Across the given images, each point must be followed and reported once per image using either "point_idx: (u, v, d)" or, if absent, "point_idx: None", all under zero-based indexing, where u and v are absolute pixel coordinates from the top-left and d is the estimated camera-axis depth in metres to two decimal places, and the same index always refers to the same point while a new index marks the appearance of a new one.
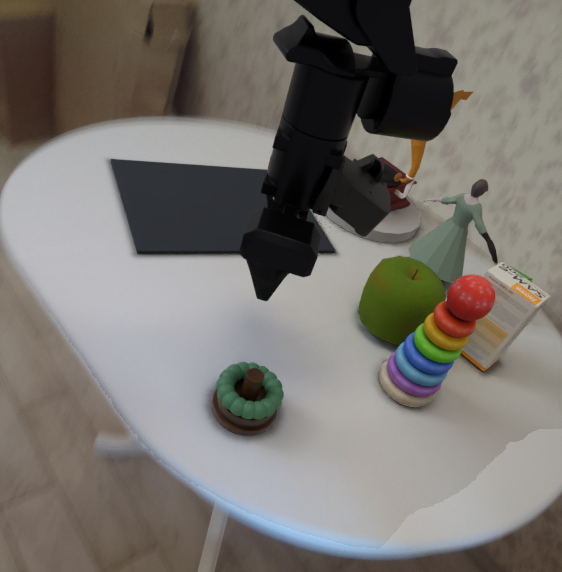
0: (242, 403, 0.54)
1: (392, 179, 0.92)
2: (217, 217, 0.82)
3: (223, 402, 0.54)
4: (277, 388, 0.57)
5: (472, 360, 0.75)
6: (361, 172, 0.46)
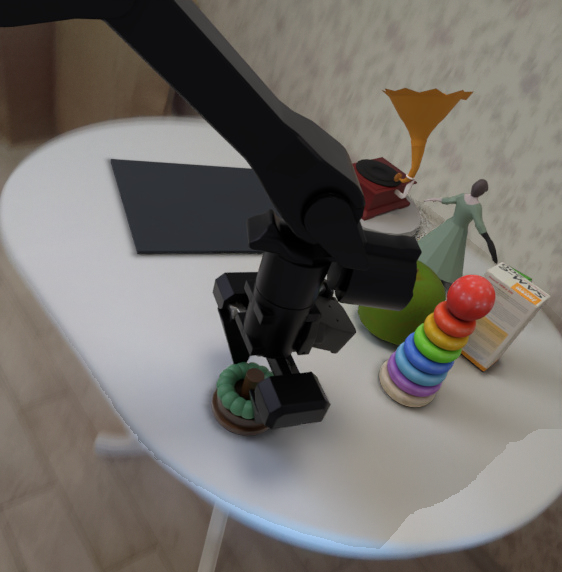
0: (242, 403, 0.54)
1: (392, 179, 0.92)
2: (217, 217, 0.82)
3: (223, 402, 0.54)
4: None
5: (472, 360, 0.75)
6: (320, 302, 0.51)
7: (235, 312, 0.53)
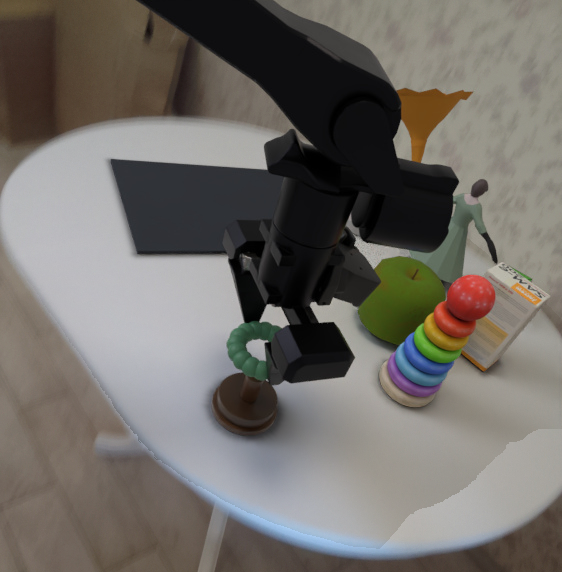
0: (255, 362, 0.49)
1: None
2: (217, 217, 0.82)
3: (234, 361, 0.50)
4: None
5: (472, 360, 0.75)
6: (341, 249, 0.47)
7: (248, 262, 0.49)
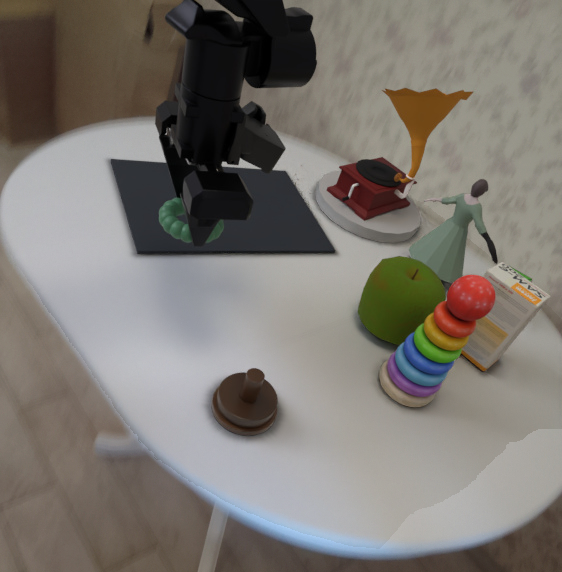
0: (181, 224, 0.57)
1: (392, 179, 0.92)
2: None
3: (163, 224, 0.58)
4: None
5: (472, 360, 0.75)
6: (251, 119, 0.54)
7: None
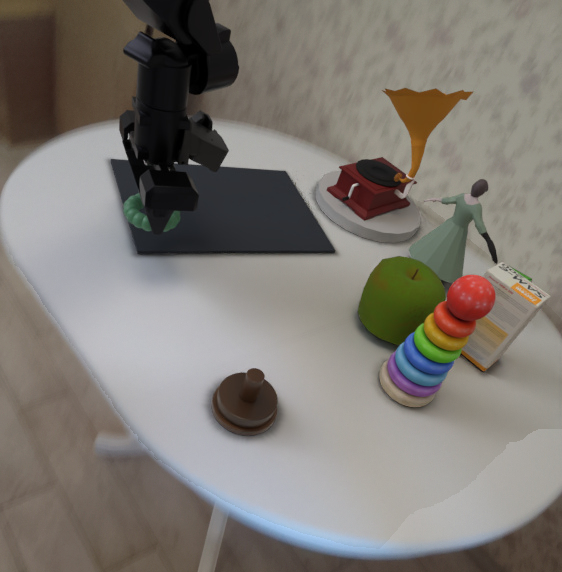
0: (141, 216, 0.67)
1: (392, 179, 0.92)
2: (217, 217, 0.82)
3: (127, 216, 0.67)
4: None
5: (472, 360, 0.75)
6: (199, 126, 0.64)
7: None
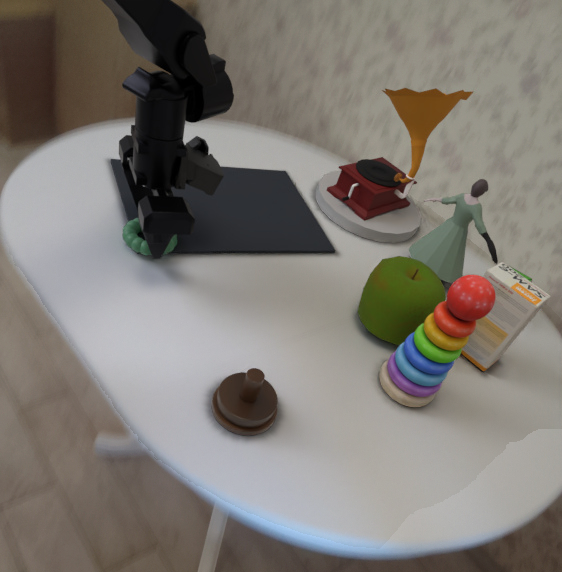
0: (140, 240, 0.70)
1: (392, 179, 0.92)
2: (217, 217, 0.82)
3: (126, 241, 0.70)
4: None
5: (472, 360, 0.75)
6: (195, 152, 0.66)
7: None
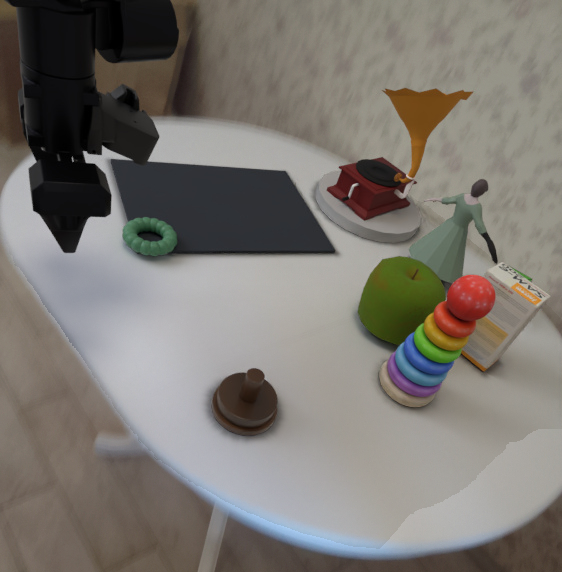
0: (140, 240, 0.70)
1: (392, 179, 0.92)
2: (217, 217, 0.82)
3: (126, 241, 0.70)
4: (171, 235, 0.72)
5: (472, 360, 0.75)
6: (119, 104, 0.48)
7: None
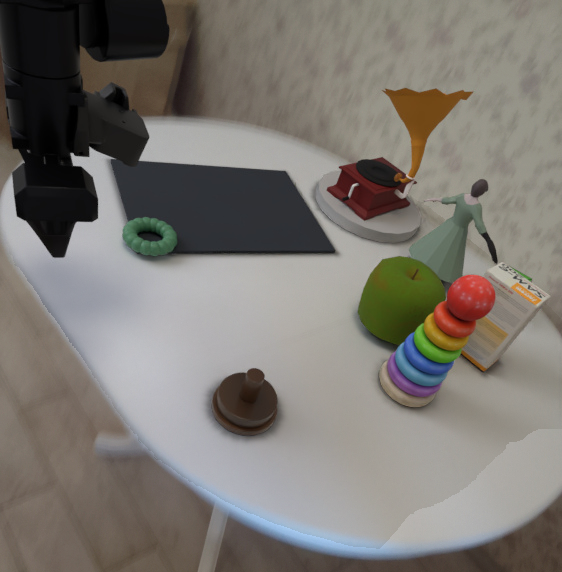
0: (140, 240, 0.70)
1: (392, 179, 0.92)
2: (217, 217, 0.82)
3: (126, 241, 0.70)
4: (171, 235, 0.72)
5: (472, 360, 0.75)
6: (107, 103, 0.46)
7: None
